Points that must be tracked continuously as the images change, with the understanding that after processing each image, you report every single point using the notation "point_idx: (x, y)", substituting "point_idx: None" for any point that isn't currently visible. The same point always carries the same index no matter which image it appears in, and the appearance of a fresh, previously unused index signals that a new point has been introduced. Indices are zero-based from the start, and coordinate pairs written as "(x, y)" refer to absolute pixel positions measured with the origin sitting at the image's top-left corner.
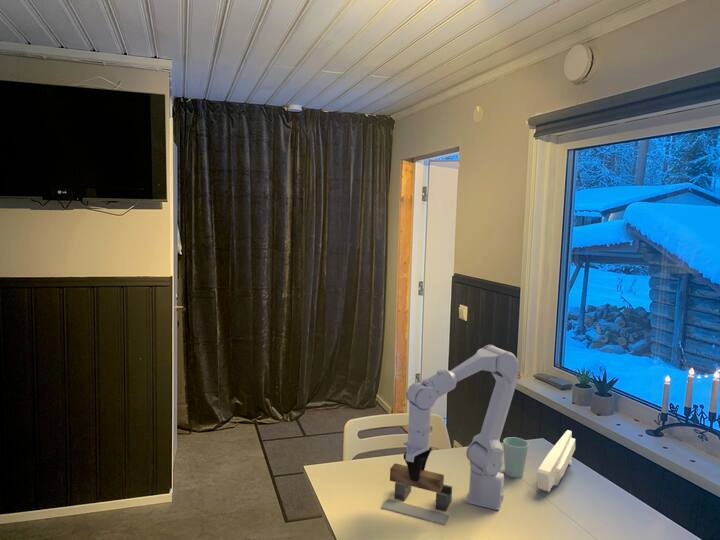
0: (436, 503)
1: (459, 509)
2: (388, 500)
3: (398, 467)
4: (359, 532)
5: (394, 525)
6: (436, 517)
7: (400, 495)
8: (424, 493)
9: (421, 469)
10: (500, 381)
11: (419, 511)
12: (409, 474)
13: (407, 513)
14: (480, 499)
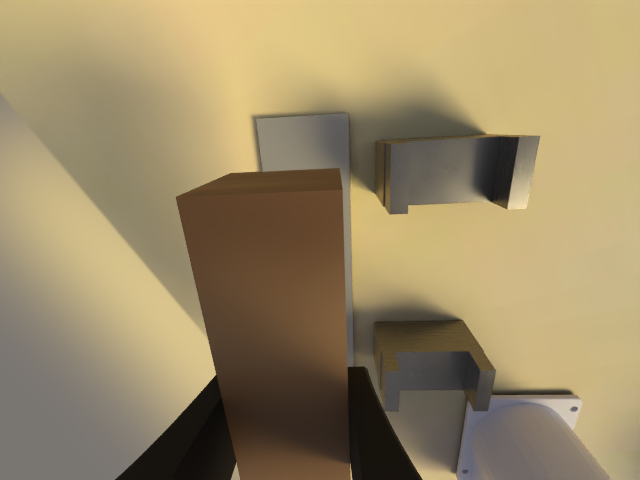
0: (377, 341)
1: None
2: (334, 125)
3: (260, 270)
4: (32, 121)
5: (177, 229)
6: None
7: (379, 176)
8: (485, 249)
9: (351, 449)
10: None
11: None
12: (193, 401)
13: None
14: (477, 456)
